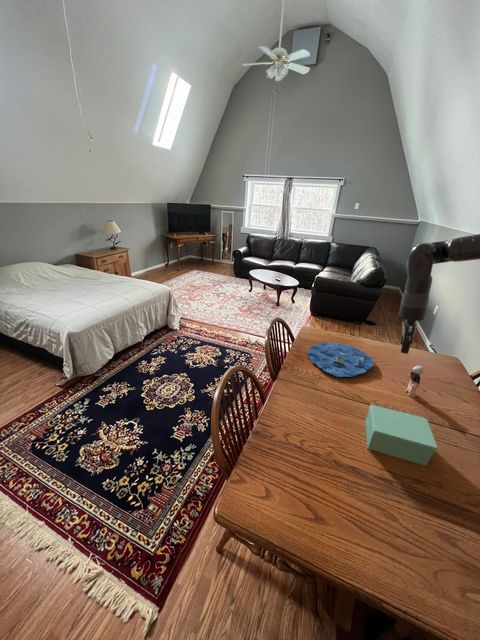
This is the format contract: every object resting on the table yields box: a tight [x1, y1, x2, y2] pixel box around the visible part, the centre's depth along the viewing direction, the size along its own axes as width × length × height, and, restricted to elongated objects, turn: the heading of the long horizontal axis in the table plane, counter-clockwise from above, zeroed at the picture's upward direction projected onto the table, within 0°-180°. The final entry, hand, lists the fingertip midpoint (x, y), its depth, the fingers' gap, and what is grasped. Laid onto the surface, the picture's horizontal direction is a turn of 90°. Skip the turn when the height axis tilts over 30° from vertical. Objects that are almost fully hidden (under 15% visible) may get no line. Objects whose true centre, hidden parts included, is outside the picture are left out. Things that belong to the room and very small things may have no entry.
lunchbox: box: [364, 407, 436, 467], centre depth 82 cm, size 16×12×7 cm
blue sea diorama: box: [306, 341, 375, 378], centre depth 124 cm, size 30×30×5 cm
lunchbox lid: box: [369, 404, 439, 451], centre depth 81 cm, size 16×12×1 cm
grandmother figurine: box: [404, 365, 424, 398], centre depth 103 cm, size 8×4×13 cm, turn 0°
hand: (404, 348), depth 95 cm, fingers open, 8 cm apart
